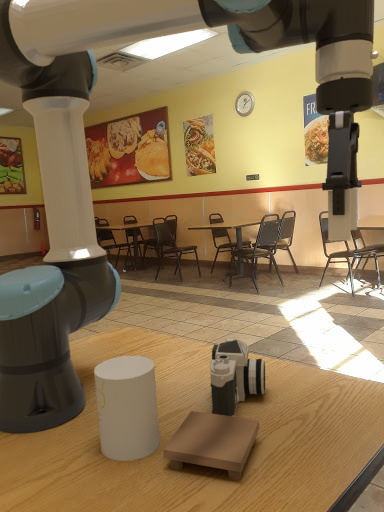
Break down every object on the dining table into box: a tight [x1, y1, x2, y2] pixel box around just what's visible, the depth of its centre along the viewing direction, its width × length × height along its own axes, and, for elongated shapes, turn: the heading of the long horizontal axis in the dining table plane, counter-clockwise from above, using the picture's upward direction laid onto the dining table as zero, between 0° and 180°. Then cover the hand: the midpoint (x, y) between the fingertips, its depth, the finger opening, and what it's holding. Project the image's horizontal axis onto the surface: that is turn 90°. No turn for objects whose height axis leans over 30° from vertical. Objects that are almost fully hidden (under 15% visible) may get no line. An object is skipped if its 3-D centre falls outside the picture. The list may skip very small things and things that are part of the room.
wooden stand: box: [162, 410, 260, 481], centre depth 58 cm, size 10×10×3 cm
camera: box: [209, 337, 266, 417], centre depth 73 cm, size 16×9×10 cm, turn 168°
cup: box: [93, 355, 161, 462], centre depth 60 cm, size 8×8×12 cm
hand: (343, 234), depth 64 cm, fingers open, 13 cm apart
